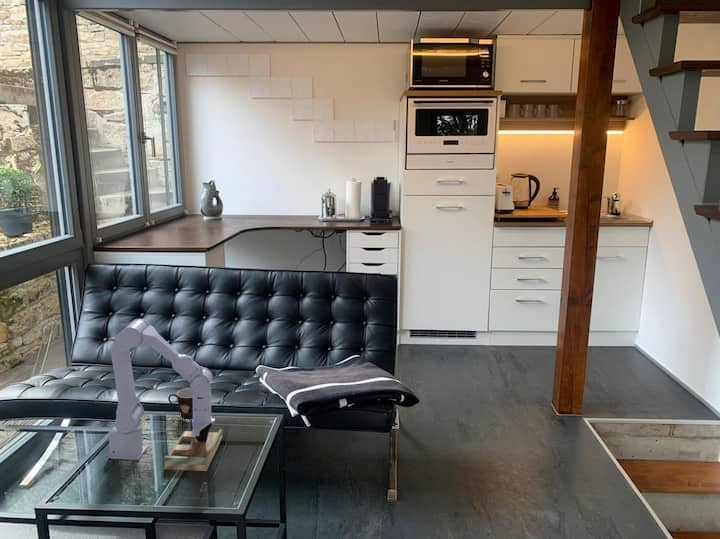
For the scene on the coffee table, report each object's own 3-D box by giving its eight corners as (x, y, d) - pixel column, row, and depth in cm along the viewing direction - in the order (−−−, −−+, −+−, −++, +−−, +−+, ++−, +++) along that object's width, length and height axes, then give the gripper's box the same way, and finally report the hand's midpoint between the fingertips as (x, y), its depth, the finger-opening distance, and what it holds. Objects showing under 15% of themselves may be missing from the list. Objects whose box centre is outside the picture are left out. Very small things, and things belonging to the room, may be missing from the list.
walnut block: (187, 462, 168) (187, 449, 167) (191, 454, 172) (191, 441, 171) (202, 462, 168) (202, 449, 167) (206, 455, 172) (206, 442, 172)
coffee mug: (206, 417, 201) (206, 392, 199) (188, 426, 194) (187, 400, 192) (185, 408, 207) (185, 383, 205) (166, 416, 200) (166, 391, 198)
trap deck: (164, 469, 167) (164, 457, 166) (184, 436, 187) (184, 425, 186) (206, 470, 167) (206, 459, 167) (222, 438, 187) (222, 427, 186)
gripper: (208, 418, 166) (208, 458, 169) (220, 397, 180) (220, 434, 183) (185, 416, 166) (185, 456, 169) (199, 396, 180) (199, 433, 183)
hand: (202, 445), depth 176 cm, fingers closed
